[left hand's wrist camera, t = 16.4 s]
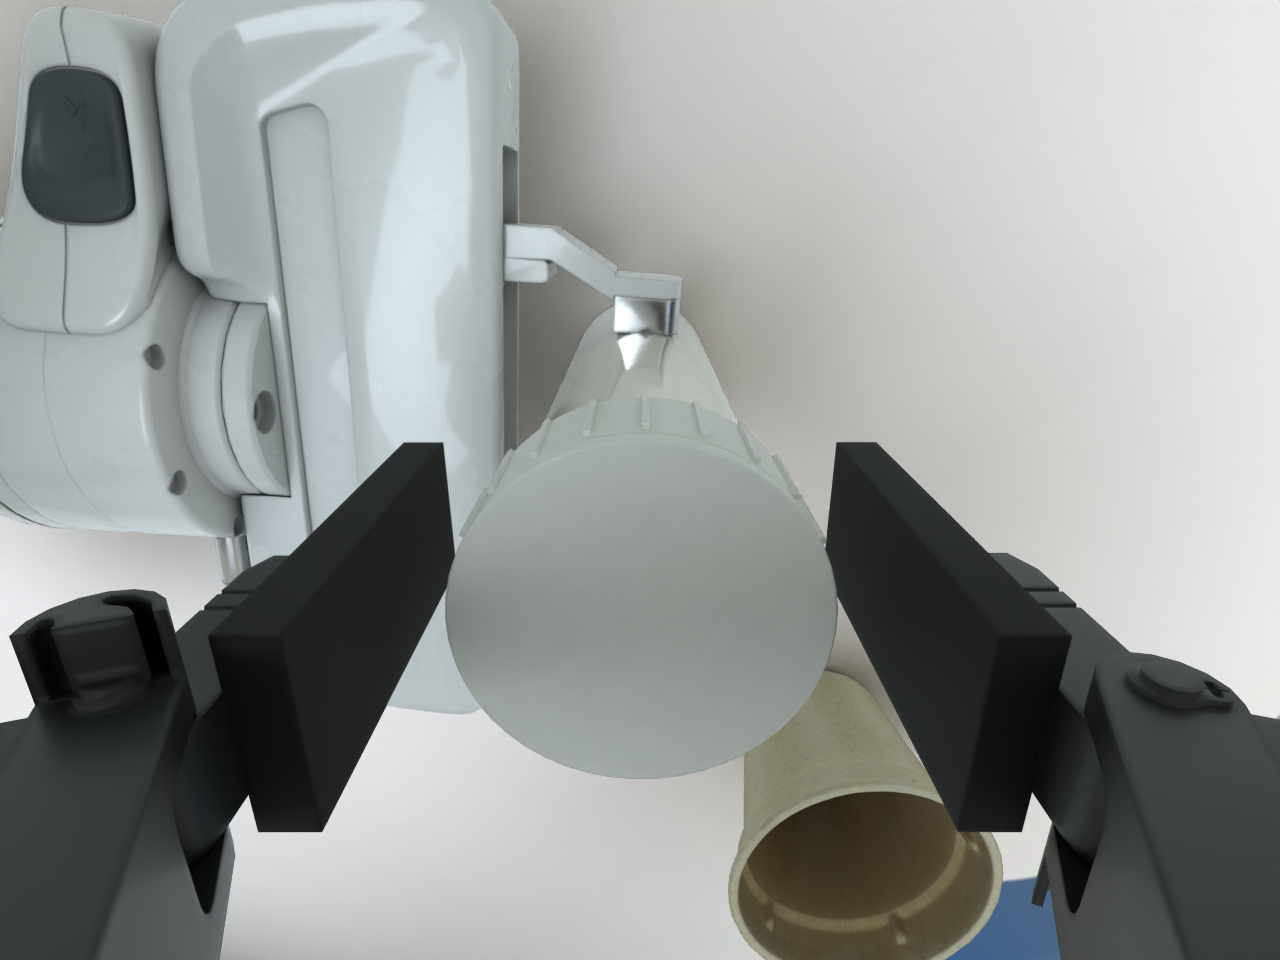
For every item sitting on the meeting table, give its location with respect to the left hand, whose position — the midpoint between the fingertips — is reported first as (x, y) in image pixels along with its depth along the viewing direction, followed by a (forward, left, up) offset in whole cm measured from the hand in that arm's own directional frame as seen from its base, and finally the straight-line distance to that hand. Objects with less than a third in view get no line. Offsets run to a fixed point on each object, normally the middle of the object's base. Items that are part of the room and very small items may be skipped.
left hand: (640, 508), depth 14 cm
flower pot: (-17, +8, -14) cm, 23 cm away
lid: (0, 0, +4) cm, 4 cm away
